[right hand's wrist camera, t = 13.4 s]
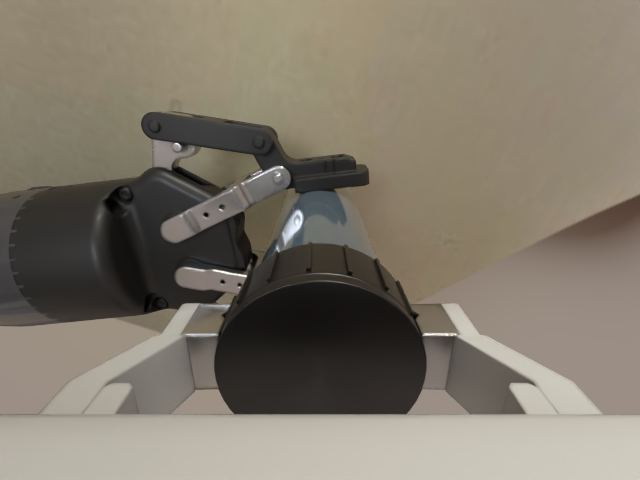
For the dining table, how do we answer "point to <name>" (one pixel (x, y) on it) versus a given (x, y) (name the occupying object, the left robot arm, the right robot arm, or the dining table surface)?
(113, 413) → the right robot arm
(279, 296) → the lid
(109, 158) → the dining table surface
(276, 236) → the bottle
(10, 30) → the dining table surface
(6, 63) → the dining table surface
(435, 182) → the dining table surface
